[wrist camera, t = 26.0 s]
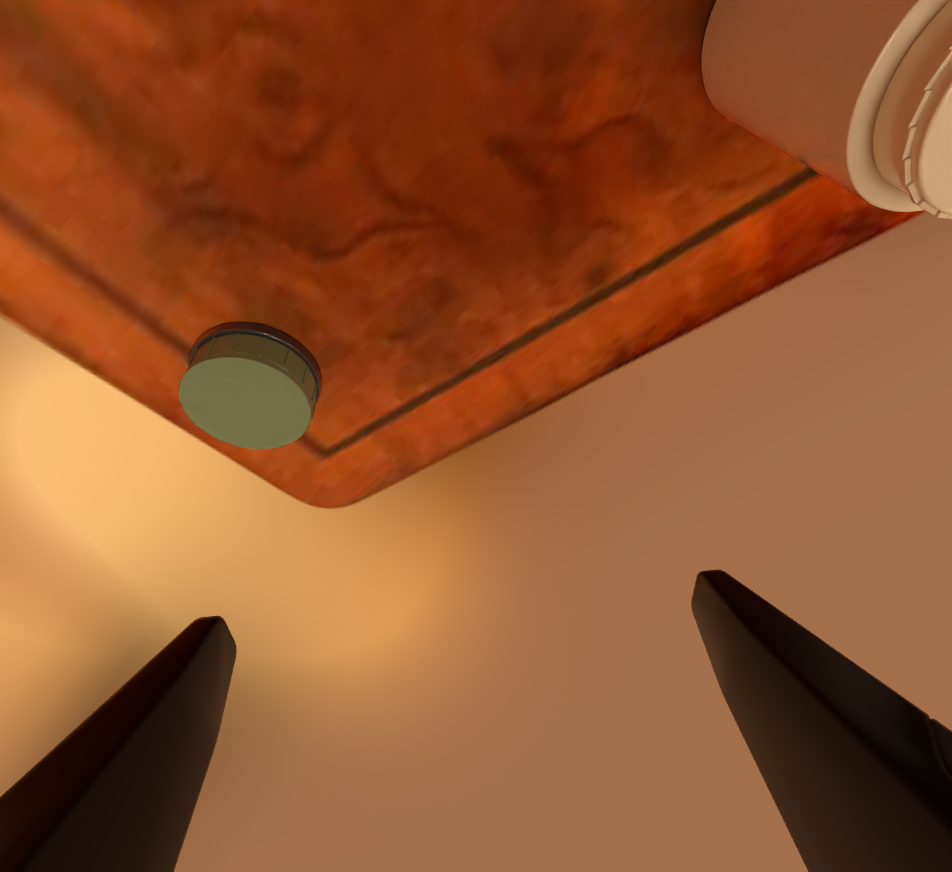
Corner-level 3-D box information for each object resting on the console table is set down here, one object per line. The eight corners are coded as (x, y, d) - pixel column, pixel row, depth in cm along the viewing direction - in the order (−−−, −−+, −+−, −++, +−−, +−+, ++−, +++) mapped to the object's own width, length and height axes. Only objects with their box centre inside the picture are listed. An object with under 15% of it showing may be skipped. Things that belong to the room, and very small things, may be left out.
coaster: (165, 331, 23) (160, 339, 22) (295, 313, 23) (292, 320, 22) (228, 425, 27) (225, 432, 27) (337, 410, 27) (336, 417, 27)
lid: (315, 431, 27) (310, 455, 26) (199, 416, 26) (187, 442, 25) (319, 344, 23) (313, 368, 22) (182, 322, 22) (167, 346, 21)
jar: (723, -79, 15) (1004, -93, 8) (914, -109, 14) (1384, -153, 7) (686, 134, 19) (847, 255, 12) (835, 112, 18) (1090, 221, 11)
